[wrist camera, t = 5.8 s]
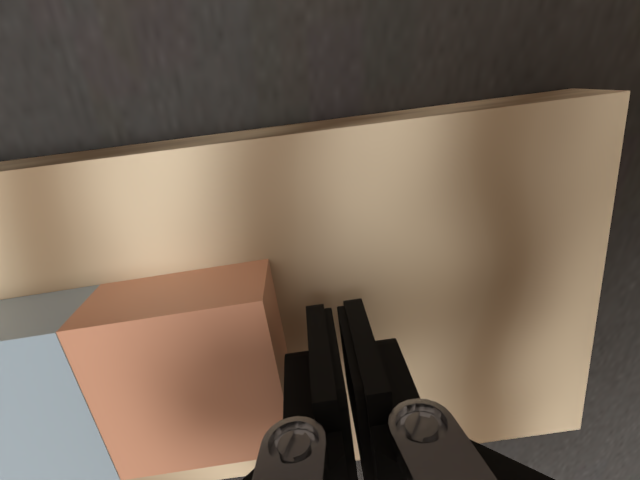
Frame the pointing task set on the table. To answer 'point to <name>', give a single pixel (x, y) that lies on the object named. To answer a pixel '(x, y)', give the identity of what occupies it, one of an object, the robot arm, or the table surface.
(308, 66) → the table surface
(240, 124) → the table surface
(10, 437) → the slate tile
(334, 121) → the wooden cutting board
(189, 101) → the table surface
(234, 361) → the terracotta tile
